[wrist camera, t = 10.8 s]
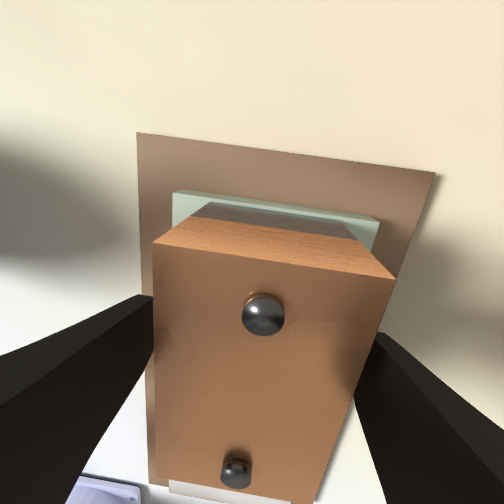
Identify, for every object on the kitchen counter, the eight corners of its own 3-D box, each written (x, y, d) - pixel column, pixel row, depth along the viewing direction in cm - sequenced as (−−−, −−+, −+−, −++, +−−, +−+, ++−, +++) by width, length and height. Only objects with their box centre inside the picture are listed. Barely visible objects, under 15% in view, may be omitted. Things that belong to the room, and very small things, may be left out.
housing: (339, 219, 10) (403, 287, 5) (298, 376, 13) (313, 518, 8) (210, 201, 10) (144, 247, 5) (199, 360, 13) (151, 488, 8)
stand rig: (307, 499, 19) (310, 536, 18) (153, 471, 20) (140, 503, 18) (424, 171, 11) (455, 174, 9) (145, 133, 11) (119, 129, 9)
